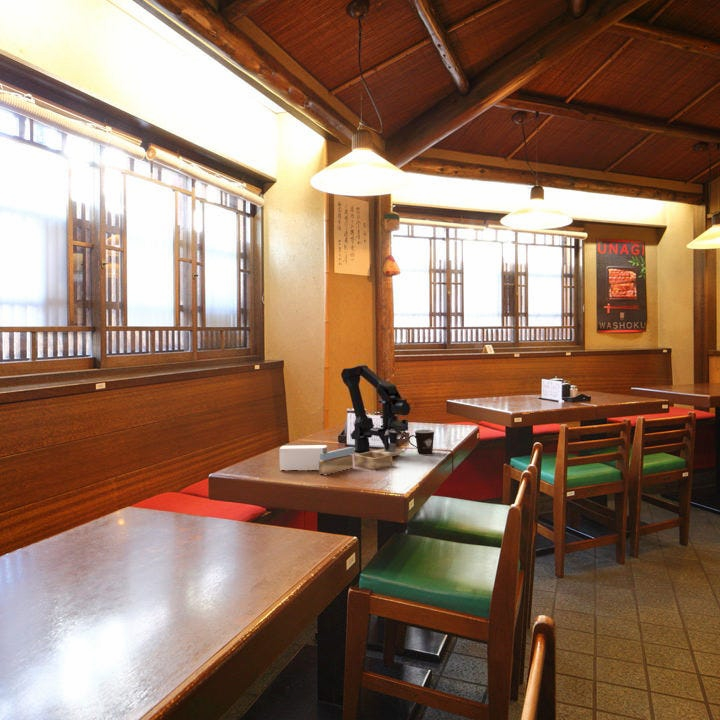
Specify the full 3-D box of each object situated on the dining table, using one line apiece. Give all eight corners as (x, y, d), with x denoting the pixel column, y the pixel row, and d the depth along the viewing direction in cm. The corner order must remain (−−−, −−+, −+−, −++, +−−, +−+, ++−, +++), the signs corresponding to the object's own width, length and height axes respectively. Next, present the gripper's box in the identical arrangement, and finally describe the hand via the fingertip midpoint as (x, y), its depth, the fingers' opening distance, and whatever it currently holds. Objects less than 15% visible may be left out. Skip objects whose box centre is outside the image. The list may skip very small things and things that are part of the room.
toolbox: (354, 465, 229) (354, 455, 228) (372, 461, 235) (371, 450, 235) (374, 470, 220) (374, 459, 220) (392, 465, 226) (392, 454, 226)
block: (320, 459, 216) (319, 448, 216) (351, 452, 227) (350, 441, 226) (323, 460, 214) (323, 448, 214) (354, 453, 225) (354, 442, 225)
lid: (370, 455, 245) (369, 444, 245) (385, 451, 252) (385, 440, 251) (389, 457, 236) (388, 446, 236) (404, 454, 243) (403, 442, 243)
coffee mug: (434, 451, 252) (434, 429, 251) (435, 455, 243) (434, 432, 243) (408, 451, 253) (408, 429, 252) (408, 455, 244) (407, 433, 244)
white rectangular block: (328, 468, 227) (327, 445, 226) (326, 471, 221) (325, 447, 221) (280, 468, 229) (279, 445, 229) (277, 471, 224) (276, 448, 223)
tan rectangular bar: (319, 474, 216) (318, 461, 216) (348, 467, 226) (347, 454, 226) (323, 475, 214) (323, 462, 214) (352, 468, 224) (352, 455, 224)
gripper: (386, 417, 230) (388, 455, 230) (417, 412, 242) (417, 448, 243) (368, 415, 238) (369, 451, 239) (398, 410, 251) (399, 444, 251)
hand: (389, 449), depth 243 cm, fingers closed on lid, 3 cm apart
